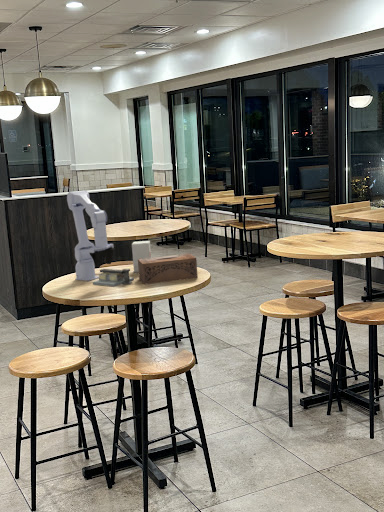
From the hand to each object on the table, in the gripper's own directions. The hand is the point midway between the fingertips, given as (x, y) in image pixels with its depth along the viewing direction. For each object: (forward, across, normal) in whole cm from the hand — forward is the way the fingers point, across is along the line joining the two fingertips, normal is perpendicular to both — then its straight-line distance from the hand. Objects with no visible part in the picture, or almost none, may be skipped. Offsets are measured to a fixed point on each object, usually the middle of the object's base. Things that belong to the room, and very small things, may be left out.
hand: (103, 265), depth 301 cm
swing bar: (+5, +6, -2) cm, 8 cm away
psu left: (+8, +6, +4) cm, 11 cm away
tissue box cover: (+10, +21, -21) cm, 32 cm away
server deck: (+9, +6, -2) cm, 11 cm away
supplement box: (+10, +34, +4) cm, 36 cm away
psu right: (+8, +6, -3) cm, 10 cm away
